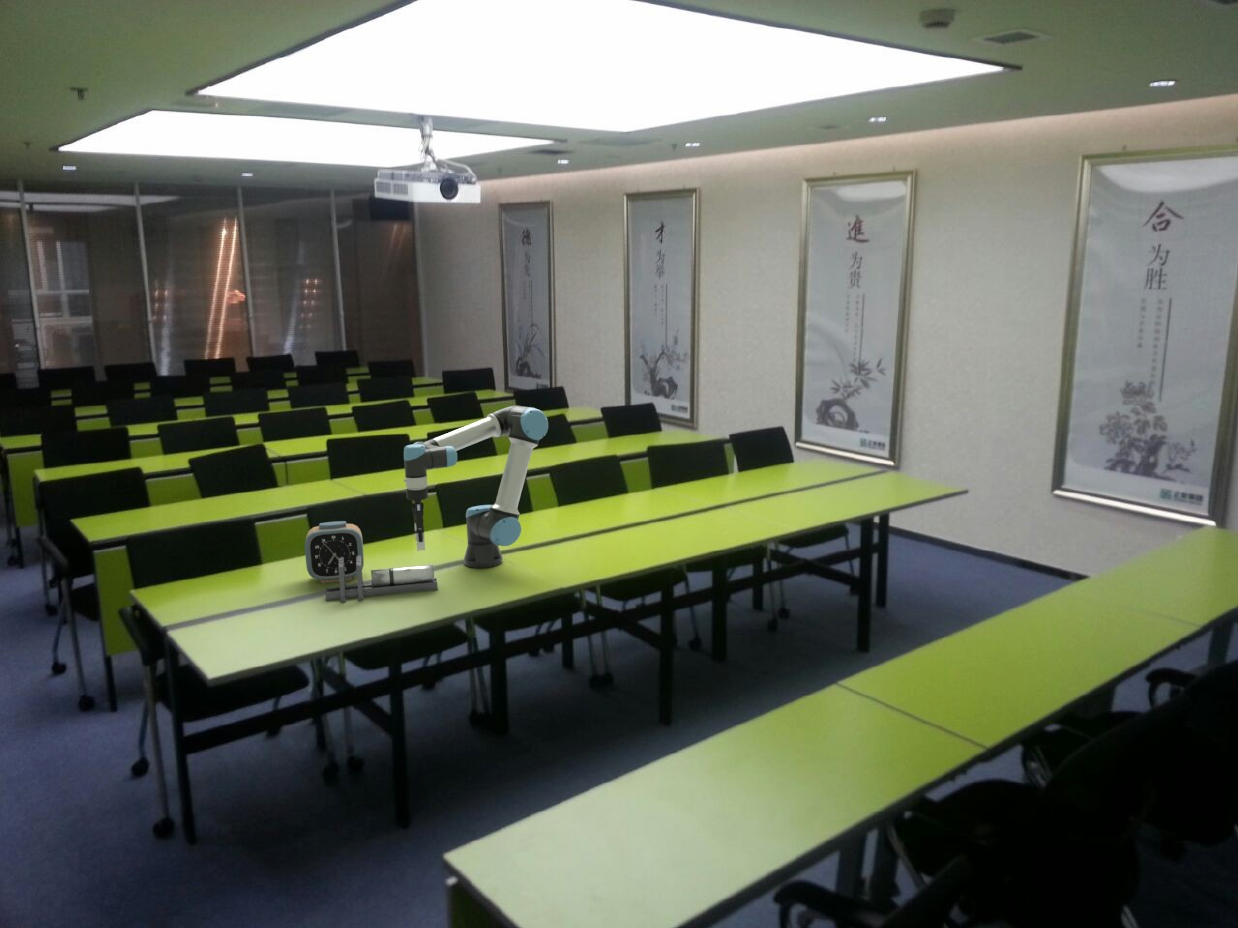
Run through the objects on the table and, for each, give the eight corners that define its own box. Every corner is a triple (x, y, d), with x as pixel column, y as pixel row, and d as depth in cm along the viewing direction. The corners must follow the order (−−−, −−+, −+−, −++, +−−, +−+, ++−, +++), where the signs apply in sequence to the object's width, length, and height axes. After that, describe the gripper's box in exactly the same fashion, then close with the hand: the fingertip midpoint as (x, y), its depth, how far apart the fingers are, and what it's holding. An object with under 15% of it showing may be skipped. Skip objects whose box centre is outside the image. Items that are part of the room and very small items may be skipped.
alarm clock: (307, 585, 348) (303, 529, 344) (309, 577, 357) (304, 522, 353) (364, 579, 353) (360, 524, 349) (364, 572, 362) (360, 518, 358)
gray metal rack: (436, 582, 348) (434, 548, 346) (438, 592, 337) (436, 558, 334) (326, 593, 339) (324, 558, 336) (325, 604, 327) (322, 568, 324)
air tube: (433, 578, 345) (432, 562, 343) (434, 583, 339) (433, 567, 338) (371, 584, 339) (370, 568, 338) (372, 589, 333) (370, 572, 332)
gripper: (404, 481, 345) (408, 537, 349) (407, 496, 321) (410, 555, 325) (425, 480, 347) (428, 535, 351) (429, 494, 323) (432, 553, 327)
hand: (420, 545), depth 338 cm, fingers open, 13 cm apart
